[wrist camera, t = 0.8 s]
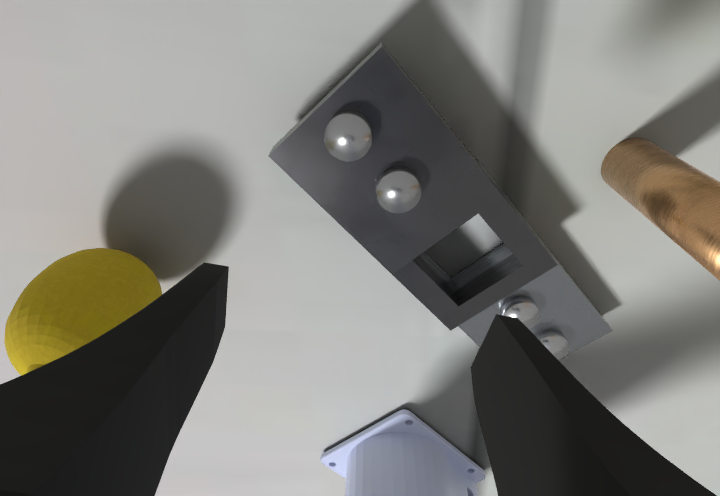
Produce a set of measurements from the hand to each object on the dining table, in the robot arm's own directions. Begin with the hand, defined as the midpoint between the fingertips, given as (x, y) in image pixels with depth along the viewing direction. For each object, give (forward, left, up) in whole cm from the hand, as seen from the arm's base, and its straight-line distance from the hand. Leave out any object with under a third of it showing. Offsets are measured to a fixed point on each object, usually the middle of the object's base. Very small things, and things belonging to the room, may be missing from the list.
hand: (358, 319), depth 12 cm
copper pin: (-8, -9, -10) cm, 16 cm away
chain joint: (-6, -1, -10) cm, 12 cm away
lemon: (+4, +13, -10) cm, 17 cm away
